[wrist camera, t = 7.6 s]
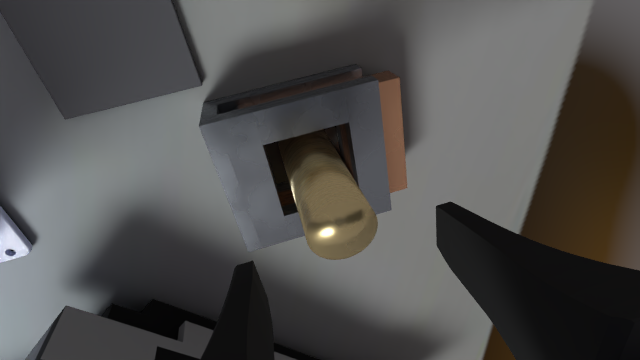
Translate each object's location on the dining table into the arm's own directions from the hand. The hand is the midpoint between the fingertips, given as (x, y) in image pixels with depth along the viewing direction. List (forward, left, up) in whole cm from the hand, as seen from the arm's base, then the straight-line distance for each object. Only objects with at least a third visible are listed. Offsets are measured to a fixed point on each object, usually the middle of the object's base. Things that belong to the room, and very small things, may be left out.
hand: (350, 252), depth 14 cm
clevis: (0, 0, -10) cm, 10 cm away
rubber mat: (-8, +8, -10) cm, 16 cm away
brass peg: (0, 0, -10) cm, 10 cm away
